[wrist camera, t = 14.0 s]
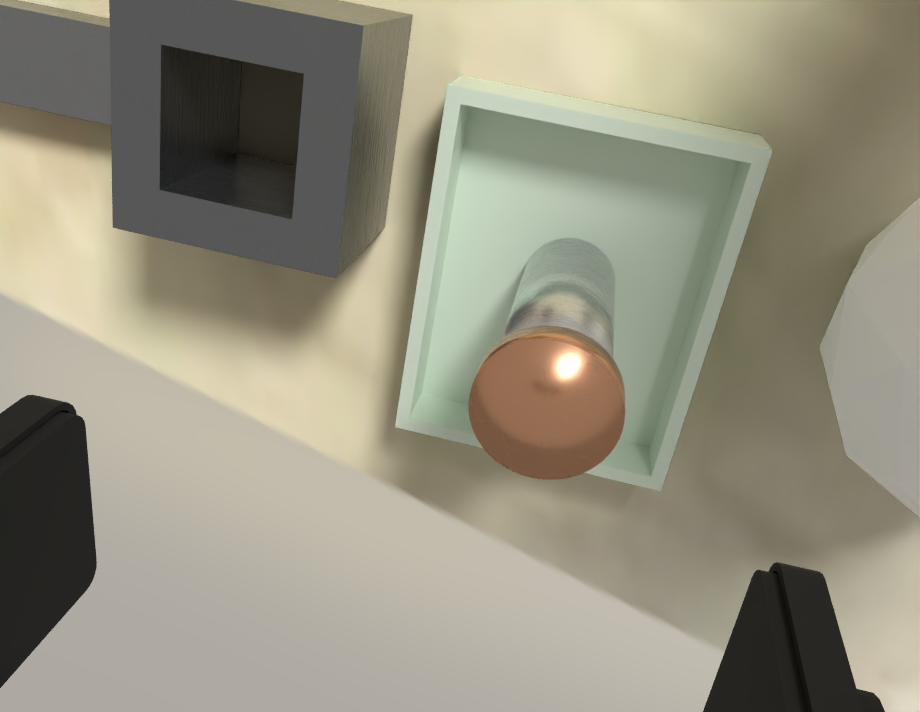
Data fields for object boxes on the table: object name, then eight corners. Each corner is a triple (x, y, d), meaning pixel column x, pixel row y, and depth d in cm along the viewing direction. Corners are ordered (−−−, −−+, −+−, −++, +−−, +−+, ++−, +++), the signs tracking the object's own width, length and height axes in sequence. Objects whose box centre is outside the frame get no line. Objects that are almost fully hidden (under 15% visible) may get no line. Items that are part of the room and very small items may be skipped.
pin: (637, 241, 36) (642, 360, 25) (609, 343, 38) (604, 494, 27) (525, 218, 36) (482, 324, 25) (504, 320, 38) (456, 459, 27)
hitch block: (412, 14, 34) (363, 25, 28) (384, 227, 38) (336, 278, 32) (-64, -79, 36) (-209, -88, 30) (-44, 133, 40) (-168, 163, 34)
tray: (462, 75, 35) (447, 84, 32) (760, 135, 34) (772, 150, 31) (411, 395, 42) (394, 427, 39) (659, 454, 40) (661, 491, 38)
